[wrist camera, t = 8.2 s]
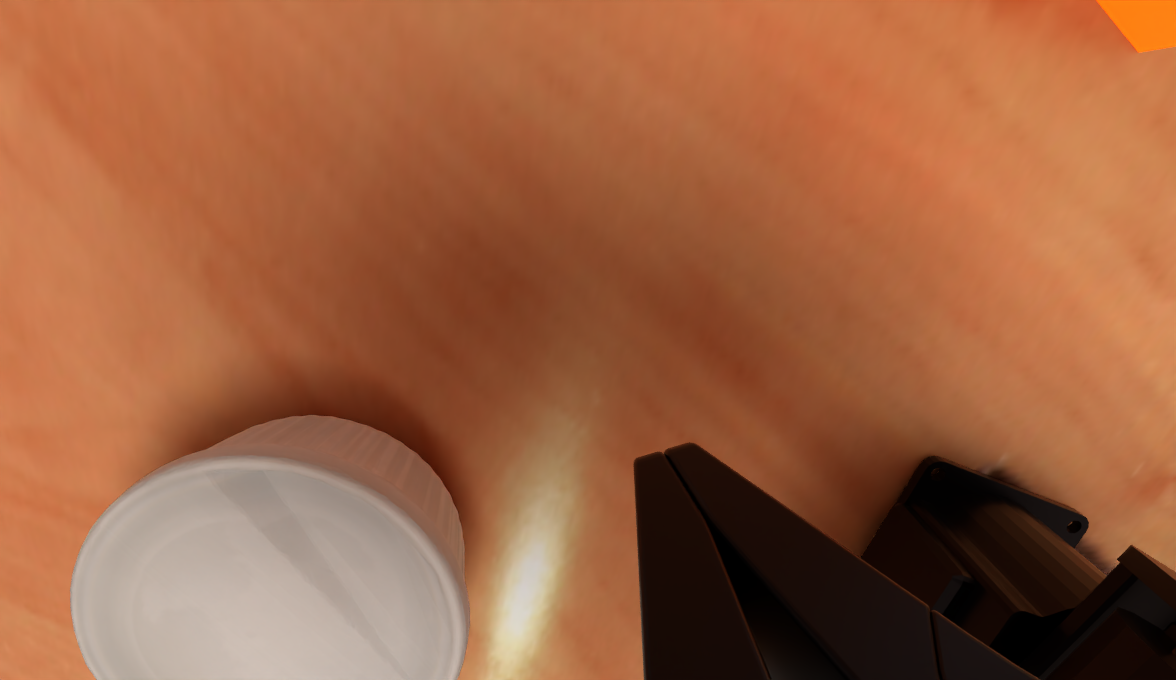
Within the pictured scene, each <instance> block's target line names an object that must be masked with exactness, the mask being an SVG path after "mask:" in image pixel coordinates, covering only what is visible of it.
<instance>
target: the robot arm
mask: <svg viewBox="0 0 1176 680" xmlns="http://www.w3.org/2000/svg"><path fill="white" fill-rule="evenodd" d="M936 468H940V469H939V472H938V473H937V474H935V475H931V473H932V471H933V470H934V469H936ZM634 484H635V504H636V525H637V546H638V567H639V587H640V608H641V629H642V650H643V671H644V680H1176V572H1175V571H1173V570H1171V569H1170V568H1168V567H1167V566H1165V565H1163V564H1162V563H1160V562H1159V561H1157V560H1155V559H1154V558H1152V557H1150V556H1149V555H1147V554H1146V553H1144V552H1142V551H1141V550H1139V549H1138V548H1136V547H1134V546H1133V545H1131V546H1130V547H1129V548H1128V549H1127V550H1126V551H1125V552H1124V553H1123V554H1122V555H1121V556H1120V557H1119V558H1118V559H1117V560H1118V561H1119V562H1120V563H1119V564H1118V565H1117V566H1116V567H1115V568H1114V569H1113V570H1112V571H1111V572H1110V573H1109V574H1108V575H1107V576H1106V575H1105V574H1104V573H1102V572H1101V571H1100V570H1099V569H1098V568H1096V567H1095V566H1094V565H1093V564H1092V563H1090V562H1089V561H1088V560H1087V559H1086V558H1084V557H1083V556H1082V555H1081V554H1080V553H1078V552H1077V551H1076V550H1075V549H1074V548H1075V546H1076V545H1077V544H1078V542H1079V541H1080V539H1081V538H1082V537H1083V535H1084V534H1085V533H1086V531H1087V529H1088V524H1089V522H1088V520H1087V518H1086V517H1084V516H1083V515H1082V514H1080V513H1079V512H1078V511H1076V510H1075V509H1073V508H1070V507H1067V506H1065V505H1062V504H1060V503H1057V502H1055V501H1052V500H1049V499H1047V498H1044V497H1042V496H1039V495H1037V494H1034V493H1031V492H1029V491H1026V490H1024V489H1021V488H1019V487H1016V486H1013V485H1011V484H1008V483H1006V482H1003V481H1001V480H998V479H995V478H993V477H990V476H988V475H985V474H983V473H980V472H977V471H975V470H972V469H970V468H967V467H965V466H962V465H959V464H957V463H954V462H952V461H949V460H947V459H944V458H941V457H938V456H931V457H928V458H926V459H924V460H923V461H922V462H921V463H920V465H919V466H918V468H917V469H916V471H915V473H914V474H913V476H912V478H911V479H910V481H909V483H908V484H907V486H906V487H905V489H904V491H903V492H902V494H901V496H900V497H899V499H898V501H897V502H896V504H895V505H894V506H893V507H892V508H891V510H890V512H889V513H888V515H887V517H886V518H885V520H884V522H883V523H882V525H881V526H880V528H879V530H878V531H877V533H876V535H875V536H874V538H873V540H872V541H871V543H870V544H869V546H868V548H867V549H866V551H865V553H864V554H863V556H862V558H859V557H858V556H856V555H855V554H854V553H852V552H851V551H849V550H848V549H846V548H845V547H843V546H842V545H841V544H839V543H838V542H836V541H835V540H833V539H832V538H831V537H829V536H828V535H826V534H825V533H823V532H822V531H820V530H819V529H818V528H816V527H815V526H813V525H812V524H810V523H809V522H807V521H806V520H805V519H803V518H802V517H800V516H799V515H797V514H796V513H795V512H793V511H792V510H790V509H789V508H787V507H786V506H784V505H783V504H782V503H780V502H779V501H777V500H776V499H774V498H773V497H772V496H770V495H769V494H767V493H766V492H764V491H763V490H761V489H760V488H759V487H757V486H756V485H754V484H753V483H751V482H750V481H749V480H747V479H746V478H744V477H743V476H741V475H740V474H738V473H737V472H736V471H734V470H733V469H731V468H730V467H728V466H727V465H726V464H724V463H723V462H721V461H720V460H718V459H717V458H715V457H714V456H713V455H711V454H710V453H708V452H707V451H705V450H704V449H703V448H701V447H700V446H698V445H697V444H694V443H685V444H682V445H678V446H675V447H672V448H668V449H667V450H665V452H664V454H663V453H662V452H655V453H652V454H648V455H645V456H642V457H638V458H636V459H635V460H634ZM1072 521H1073V522H1072ZM1070 522H1072V524H1071V525H1070V526H1068V524H1069V523H1070Z"/></svg>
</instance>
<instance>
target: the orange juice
mask: <svg viewBox="0 0 1176 680" xmlns="http://www.w3.org/2000/svg"><path fill="white" fill-rule="evenodd" d="M1096 1H1097V2H1098V3H1099V4H1100V6H1101V7H1102V8H1103V9H1104V11H1105V12H1106V13H1107V14H1108V16H1109V17H1110V18H1111V19H1112V20H1113V22H1114V23H1115V24H1116V25H1117V27H1118V28H1119V29H1120V30H1121V32H1122V33H1123V34H1124V35H1125V37H1126V38H1127V39H1128V40H1129V42H1130V43H1131V44H1132V45H1133V46H1134V48H1135V49H1136V50H1137V51H1138V53H1139V52H1145V51H1151V50H1157V49H1163V48H1169V47H1175V46H1176V0H1096Z"/></svg>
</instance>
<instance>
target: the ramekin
mask: <svg viewBox="0 0 1176 680" xmlns="http://www.w3.org/2000/svg"><path fill="white" fill-rule="evenodd" d="M70 592H71V597H70V603H71V607H70V608H71V615H72V621H73V626H74V631H75V635H76V638H77V641H78V645H79V648H80V650H81V653H82V655H83V658H84V660H85V663H86V665H87V666H88V668H89V670H90V671H91V672H92V674H93V675H94V677H95V678H96V680H457V679H458V676H459V674H460V671H461V668H462V665H463V661H464V657H465V653H466V648H467V643H468V636H469V627H470V605H469V598H468V592H467V587H466V584H465V546H464V540H463V531H462V526H461V523H460V521H459V515H458V511H457V509H456V507H455V505H454V504H453V501H452V497H451V495H450V493H449V492H448V490H447V489H446V488H445V486H444V484H443V482H442V481H441V479H440V478H439V477H438V476H437V475H436V473H435V472H434V471H433V469H432V468H431V466H430V465H429V464H427V463H426V462H425V461H424V460H423V459H422V458H421V457H420V456H419V455H418V454H417V453H416V452H415V451H413V450H411V449H409V448H408V447H407V446H405V445H404V444H403V443H402V442H401V441H399V440H396V439H394V438H393V437H391V436H390V435H388V434H386V433H385V432H382V431H379V430H376V429H374V428H372V427H370V426H368V425H364V424H360V423H357V422H354V421H351V420H347V419H340V418H337V417H333V416H317V415H306V416H291V417H287V418H284V419H276V420H272V421H269V422H266V423H264V424H259V425H255V426H252V427H250V428H248V429H246V430H244V431H242V432H240V433H237V434H235V435H233V436H231V437H229V438H227V439H225V440H223V441H221V442H219V443H217V444H215V445H213V446H211V447H210V448H208V449H205V450H202V451H198V452H195V453H192V454H189V455H186V456H183V457H181V458H178V459H176V460H174V461H171V462H169V463H167V464H165V465H163V466H161V467H159V468H157V469H156V470H154V471H152V472H151V473H149V474H148V475H146V476H144V477H143V478H142V479H140V480H139V481H137V482H136V483H135V484H134V485H132V486H131V487H130V488H129V489H127V490H126V491H125V492H124V493H123V494H122V495H121V496H120V497H119V498H117V499H116V500H115V501H114V502H113V503H112V504H111V505H110V506H109V507H108V508H107V509H106V510H105V511H104V512H103V514H102V515H101V516H100V517H99V518H98V519H97V521H96V522H95V524H94V525H93V527H92V528H91V530H90V531H89V533H88V535H87V537H86V539H85V541H84V543H83V545H82V547H81V549H80V552H79V554H78V557H77V561H76V564H75V567H74V571H73V575H72V581H71V588H70Z"/></svg>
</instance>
